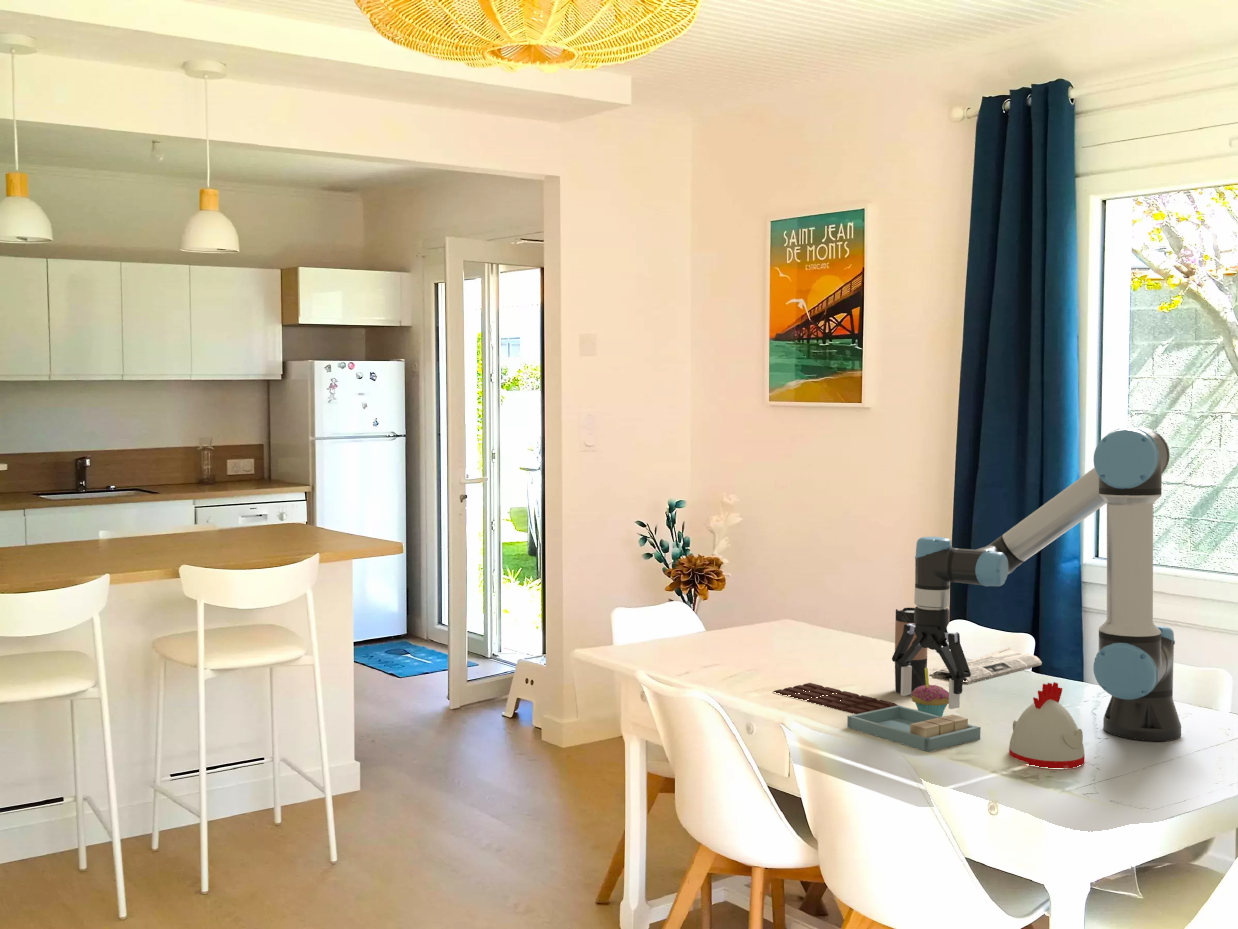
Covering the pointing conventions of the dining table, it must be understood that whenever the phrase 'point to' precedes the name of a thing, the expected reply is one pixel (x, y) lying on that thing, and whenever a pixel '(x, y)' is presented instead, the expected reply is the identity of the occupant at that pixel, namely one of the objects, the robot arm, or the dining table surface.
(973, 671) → the newspaper
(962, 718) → the block
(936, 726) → the block
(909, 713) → the tray
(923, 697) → the cupcake
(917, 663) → the travel mug
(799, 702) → the dining table surface
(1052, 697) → the kitchen timer
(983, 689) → the dining table surface
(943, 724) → the block
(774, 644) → the dining table surface
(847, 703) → the chocolate bar
